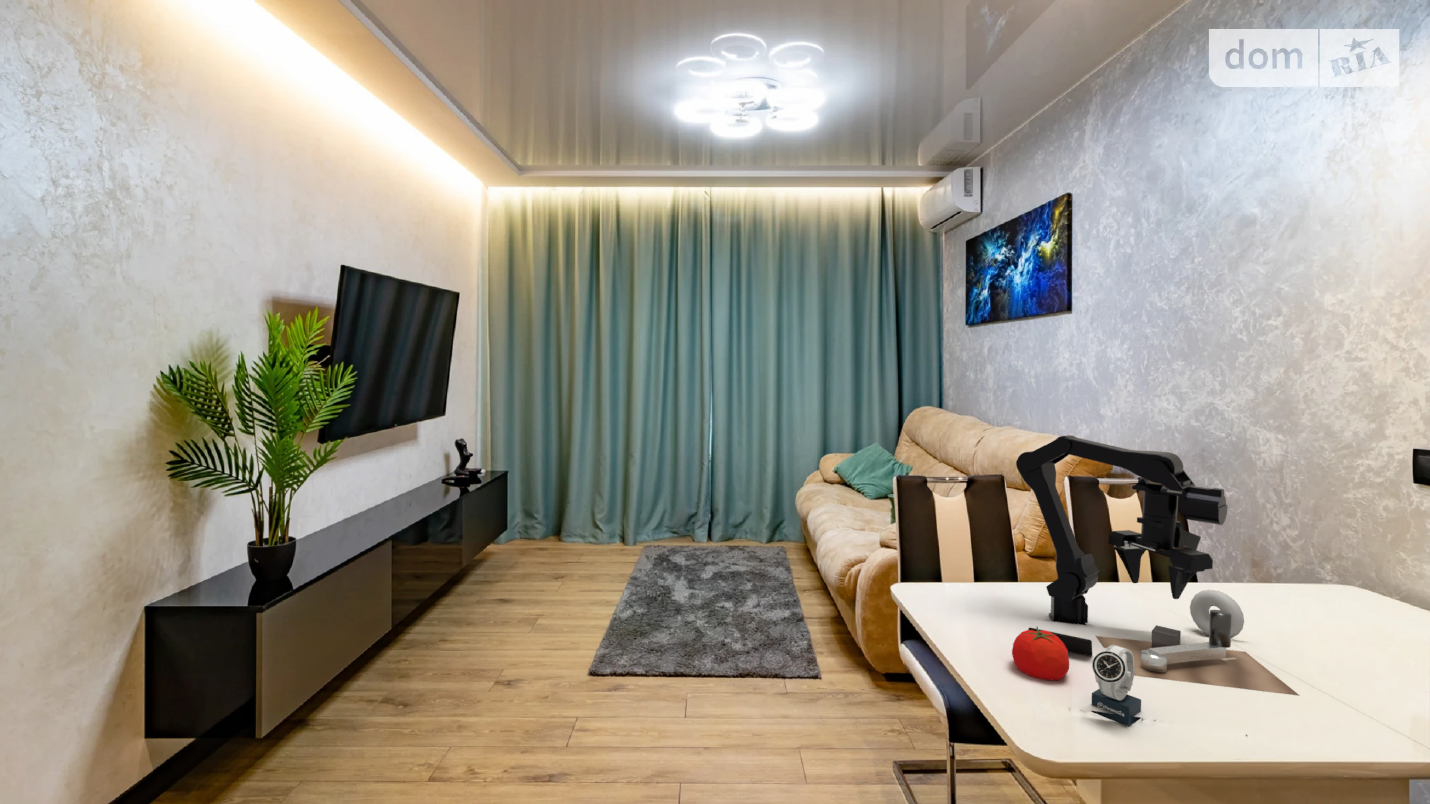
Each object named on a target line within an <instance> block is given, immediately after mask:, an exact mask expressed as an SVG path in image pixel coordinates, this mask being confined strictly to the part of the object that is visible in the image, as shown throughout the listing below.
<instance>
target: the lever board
mask: <svg viewBox="0 0 1430 804" xmlns="http://www.w3.org/2000/svg"><path fill="white" fill-rule="evenodd" d="M1181 634H1182V632H1181V630H1178V629H1174V628H1171V627H1165V626H1162V625H1155V627H1154V628H1153V629H1152V630H1151V641H1146V640H1137V639H1129V638H1123V637H1122V638H1119V637H1111V636H1101V635H1095V638H1096V639H1097V640H1098V641H1099V643H1100V644H1101V646H1102V647H1103V649H1104V648H1108V647H1109V646H1111V645H1116V646H1119V647H1122V648H1125V649H1128V650H1130V651H1131V652H1132V653H1133V657H1134V668H1135V672H1134V677H1141V678H1142V677H1143V678H1152V679H1157V680H1158V679H1159V680H1166V681H1176V682H1177V681H1178V682H1185V683H1191V684H1192V683H1193V684H1200V685H1208V686H1209V685H1210V686H1217V687H1225V688H1235V689H1241V690H1242V689H1244V690H1251V691H1259V692H1266V693H1267V692H1268V693H1275V694H1284V695H1293V696H1300V694H1299V693H1297V692H1296V691H1295V690H1294V689H1293V688H1291V687H1290V686H1289V685H1288V684H1286V683H1285V682H1284V681H1283V680H1281V679H1280V678H1279V677H1278V676H1276V674H1274V673H1273V672H1271V671H1270V670H1269V669H1268V668H1266V667H1265V665H1263V664H1261V663H1260V662H1259V661H1258V660H1256V659H1255V658H1254V657H1253V656H1251V655H1250V654H1249V653H1248V652H1246V651H1241V650H1233V649H1226V657H1224V658H1215V659H1206V660H1198V661H1189V662H1180V663H1171V664H1167V671H1166V672H1154V671H1150V670H1147V669H1145V668H1143V667H1142V666H1141V651H1142V650H1148V649H1149V648H1158V647H1167V646H1177V645H1181V637H1182V636H1181Z"/></svg>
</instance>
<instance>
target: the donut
mask: <svg viewBox="0 0 1430 804" xmlns="http://www.w3.org/2000/svg"><path fill="white" fill-rule="evenodd" d="M1211 607H1216V608H1218V610H1221V611H1225V612H1228V613H1230V614H1232V619H1231V639H1232V638H1234V637H1237V636H1238V635H1240V633H1241V632H1242V630H1243V629H1244V624H1245V619H1244V618H1245V616H1244V613H1243V610H1242V608H1241V606H1240V605H1239V604H1238V602H1237V601H1236V600H1235V599H1233V597H1231V596H1229V595H1228V594H1227V593H1225V592H1223V591H1220V590H1215V589H1205V590H1200V591H1199V592H1198V593H1196V594H1195V595H1194V596H1193V598H1192V599H1191V600H1190V606H1189V610H1190V612H1189V613H1190V616H1191V618H1192V621H1193V622H1194V623H1195V626H1196V627H1197V628H1198V629H1199V630H1200V631H1202V632H1203V634H1206V635H1207V636H1209V625H1210V610H1211Z"/></svg>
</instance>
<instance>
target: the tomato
mask: <svg viewBox="0 0 1430 804" xmlns="http://www.w3.org/2000/svg"><path fill="white" fill-rule="evenodd" d="M1036 629H1037V631H1032V630H1028V629H1027V630H1024V631H1021V633H1019V634H1018V635H1017V636H1016V637H1015V639H1014V640H1013V641H1014V642H1013V643H1012V649H1011V655H1012V659H1013V662H1014V665H1015V666H1016V668H1017V669H1018V670H1019V671H1020V672H1021V673H1023V674H1025V675H1027V676H1029V677H1033V678H1036V679H1038V680H1045V681H1059V680H1061V679H1063V678H1064V677H1065V676H1066V675H1067V674H1068V672H1069V669H1070V660H1069V659H1070V658H1069V651H1068V650H1067V648H1066V647H1065V645H1064V643H1063V642H1062V641H1061V640H1060V639H1059V638H1058V637H1057V636H1056V635H1054V634H1052V633H1051V632H1052V631H1050V632H1049V630H1045V631H1043V630H1044V629H1041V630H1042V631H1039V627H1038V626H1036Z"/></svg>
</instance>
